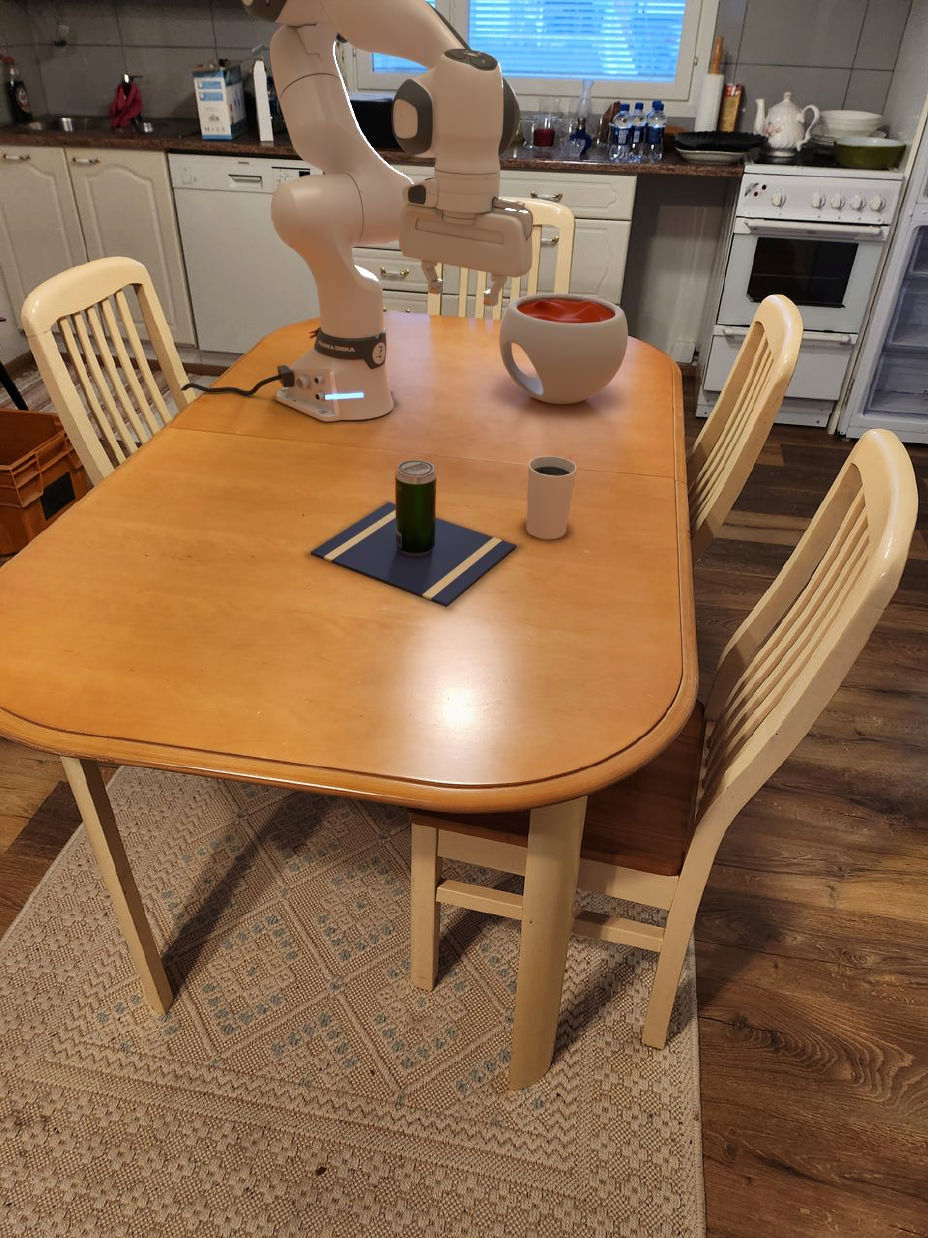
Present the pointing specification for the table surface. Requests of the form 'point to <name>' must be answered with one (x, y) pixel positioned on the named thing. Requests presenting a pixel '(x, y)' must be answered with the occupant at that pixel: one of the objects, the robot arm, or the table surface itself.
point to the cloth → (429, 576)
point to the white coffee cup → (549, 496)
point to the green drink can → (415, 507)
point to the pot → (564, 344)
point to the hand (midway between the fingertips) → (462, 298)
